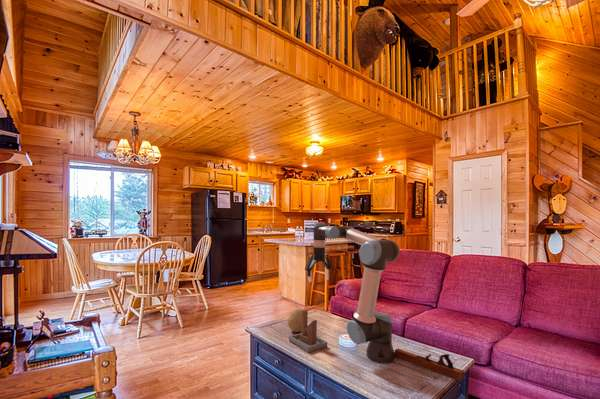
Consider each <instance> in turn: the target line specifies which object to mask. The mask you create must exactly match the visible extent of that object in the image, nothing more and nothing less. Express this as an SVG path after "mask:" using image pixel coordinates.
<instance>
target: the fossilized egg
mask: <svg viewBox="0 0 600 399" xmlns="http://www.w3.org/2000/svg"><path fill="white" fill-rule="evenodd" d="M302 310H303V308H300V307H295V308H293V309H291V310H290V312H289V314H288V316H287V320H286V322H287V326H288V328H289V329H290V330H291V331H292V332H294V333H301V326H302Z"/></svg>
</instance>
